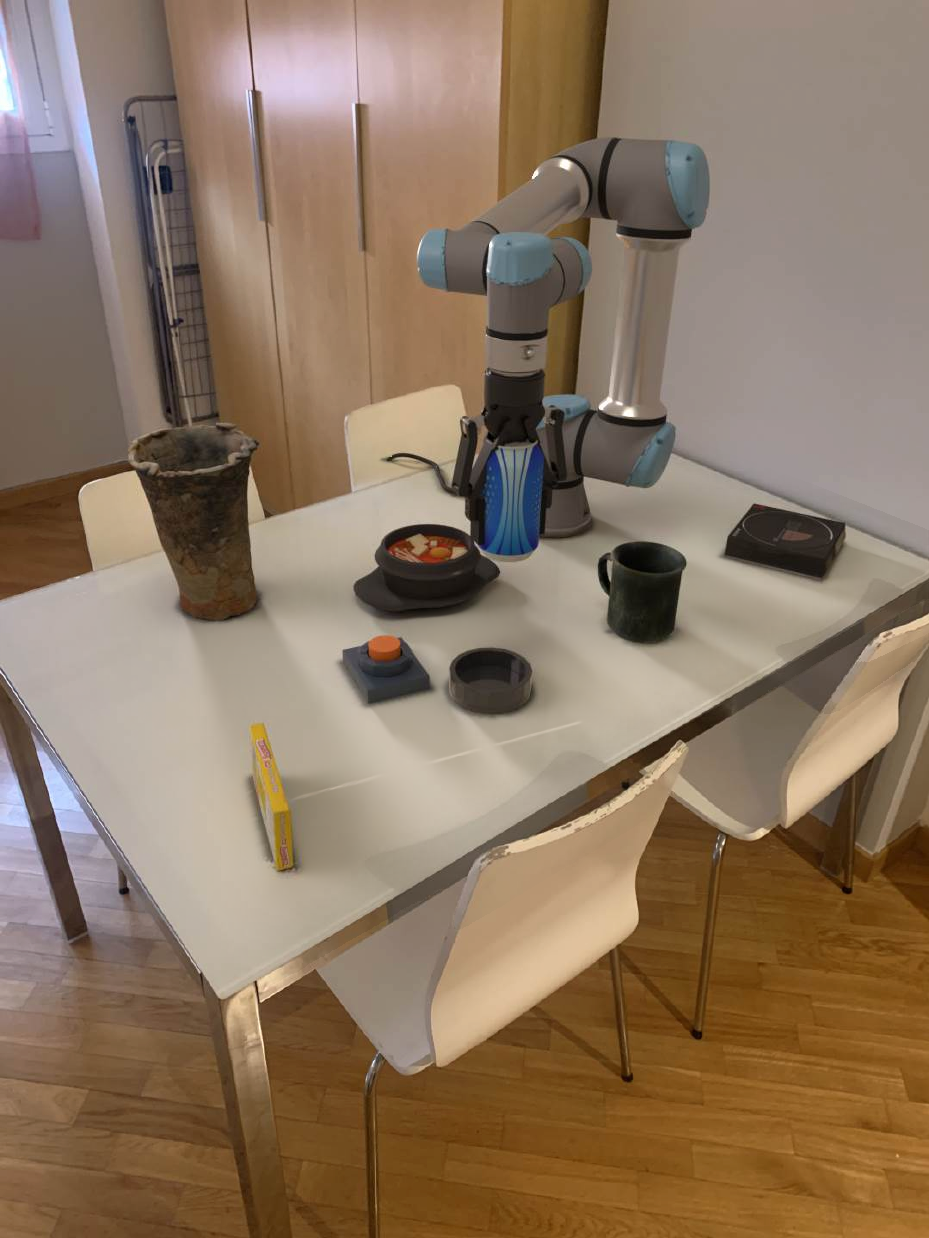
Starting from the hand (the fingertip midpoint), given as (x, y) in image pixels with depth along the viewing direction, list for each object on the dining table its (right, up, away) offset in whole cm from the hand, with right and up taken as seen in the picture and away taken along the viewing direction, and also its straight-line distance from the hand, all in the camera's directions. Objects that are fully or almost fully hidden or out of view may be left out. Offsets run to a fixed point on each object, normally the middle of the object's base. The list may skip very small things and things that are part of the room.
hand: (507, 535), depth 131 cm
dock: (-2, -21, +3) cm, 21 cm away
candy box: (-28, -35, -20) cm, 48 cm away
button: (-17, -16, +4) cm, 24 cm away
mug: (+20, -12, +19) cm, 30 cm away
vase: (-46, -9, +23) cm, 52 cm away
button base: (-17, -19, +6) cm, 26 cm away
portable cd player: (+51, +1, +42) cm, 66 cm away
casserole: (-12, -7, +28) cm, 31 cm away
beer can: (0, -2, +1) cm, 3 cm away
